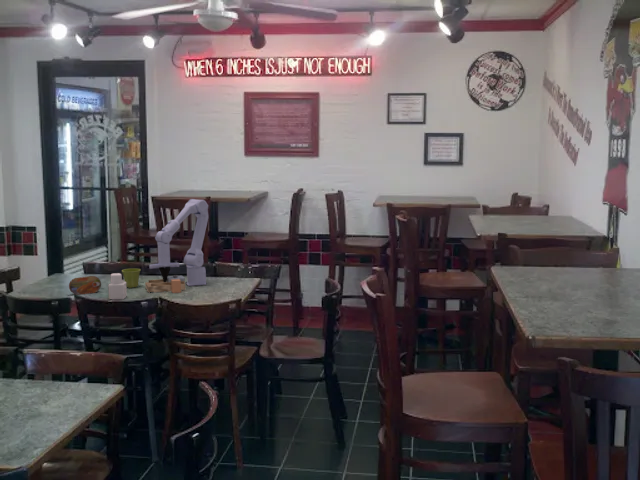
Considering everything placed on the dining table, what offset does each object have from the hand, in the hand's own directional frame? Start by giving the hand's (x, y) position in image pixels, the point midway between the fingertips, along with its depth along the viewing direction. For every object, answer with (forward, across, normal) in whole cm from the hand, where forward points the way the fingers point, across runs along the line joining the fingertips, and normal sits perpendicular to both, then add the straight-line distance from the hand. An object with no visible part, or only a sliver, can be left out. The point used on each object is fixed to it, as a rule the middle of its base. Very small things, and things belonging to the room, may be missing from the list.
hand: (165, 281), depth 355 cm
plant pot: (+4, -15, +13) cm, 20 cm away
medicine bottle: (+4, -24, -12) cm, 27 cm away
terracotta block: (+4, +4, -9) cm, 11 cm away
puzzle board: (+4, 0, 0) cm, 4 cm away
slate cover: (+1, +5, 0) cm, 5 cm away
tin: (+4, -38, +5) cm, 39 cm away
